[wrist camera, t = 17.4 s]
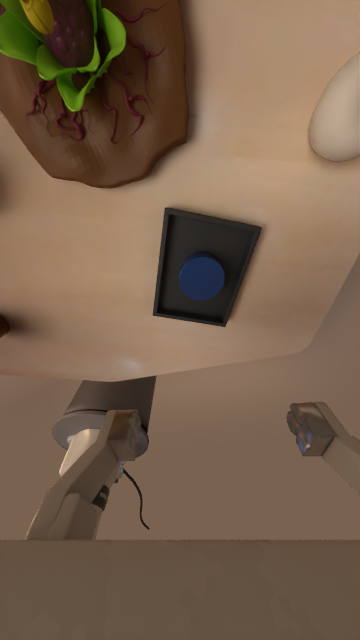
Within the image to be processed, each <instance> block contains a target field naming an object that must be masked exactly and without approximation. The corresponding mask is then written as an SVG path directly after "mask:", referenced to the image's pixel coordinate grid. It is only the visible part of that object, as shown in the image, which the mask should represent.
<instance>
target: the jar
mask: <svg viewBox="0 0 360 640" xmlns="http://www.w3.org/2000/svg"><path fill="white" fill-rule="evenodd" d="M9 330H10V326H9V324H8V322H7V321H6V320H5V319H4V318H3V317H2V316H1V315H0V338H1V337H2V336H4V335H5V334H7V333H8V332H9Z"/></svg>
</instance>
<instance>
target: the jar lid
mask: <svg viewBox="0 0 360 640" xmlns="http://www.w3.org/2000/svg"><path fill="white" fill-rule="evenodd" d="M224 279H225V277H224V271H223V269H222V267H221V264H220V262H219V260H217V259H216V258H215V256H213V255H212V254H210V253H208V252H204V251H200V252H195V253H192V254H190V255H189V256H187V257H186V258H185V259H184V261H183V262H182V264H181V267H180V270H179V283H180V287H181V289H182V291H183V292H184V294H185V295H187V296H188V297H189V298H191V299H194V300H207V299H210V298H212V297H214V296H215V295H216V294H218V292H219V291H220V290H221V288H222V287H223V284H224Z"/></svg>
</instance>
